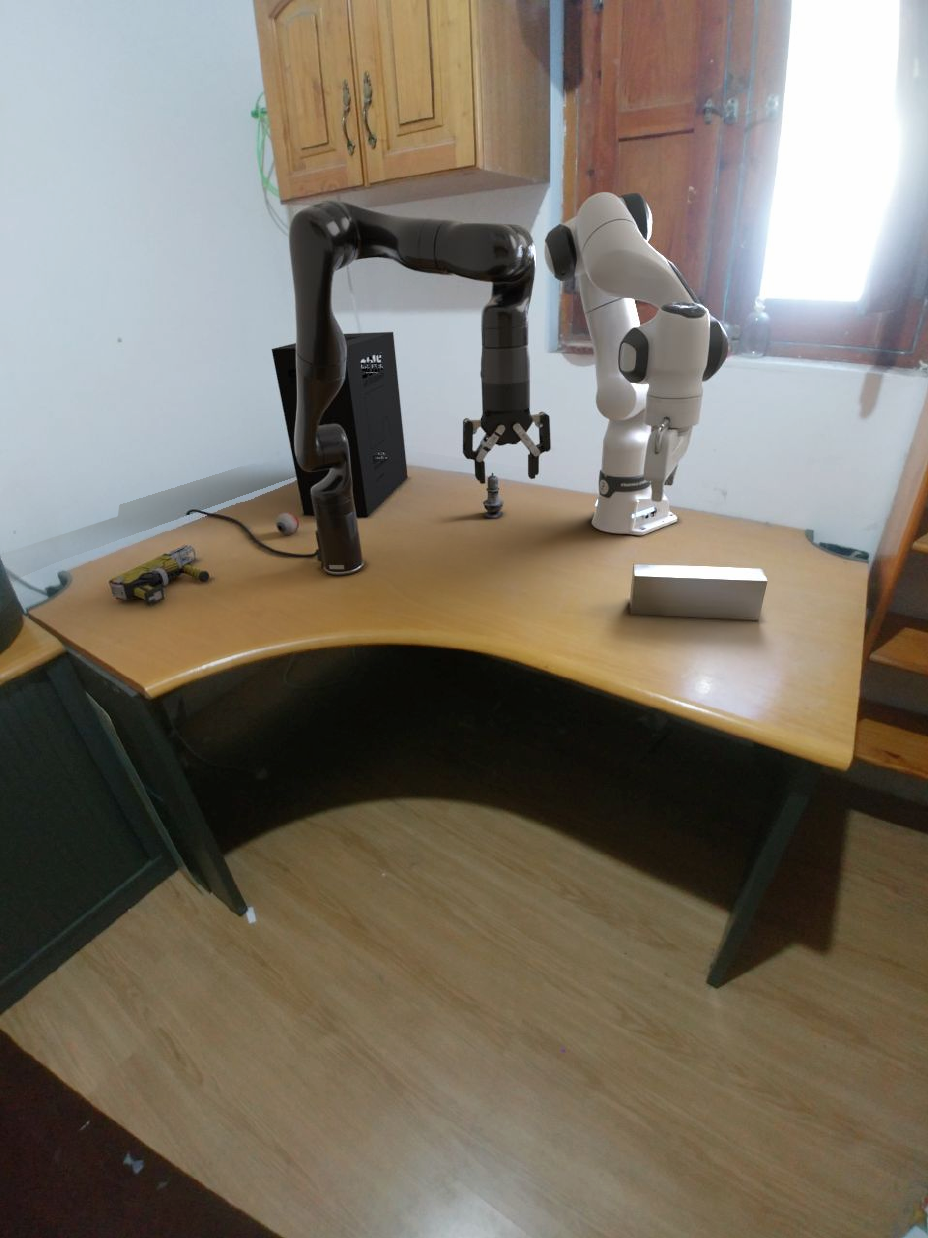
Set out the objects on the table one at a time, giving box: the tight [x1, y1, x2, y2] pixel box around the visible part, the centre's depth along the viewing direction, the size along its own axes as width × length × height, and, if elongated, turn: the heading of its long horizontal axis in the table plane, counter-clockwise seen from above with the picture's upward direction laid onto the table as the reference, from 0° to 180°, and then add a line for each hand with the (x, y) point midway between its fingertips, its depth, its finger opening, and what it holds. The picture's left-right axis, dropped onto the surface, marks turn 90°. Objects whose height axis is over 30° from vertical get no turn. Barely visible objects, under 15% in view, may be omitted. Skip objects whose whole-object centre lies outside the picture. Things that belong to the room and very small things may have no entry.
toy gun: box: [108, 544, 210, 607], centre depth 141 cm, size 5×24×15 cm
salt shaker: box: [482, 472, 505, 519], centre depth 167 cm, size 6×6×12 cm
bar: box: [629, 563, 768, 621], centre depth 116 cm, size 24×5×8 cm, turn 79°
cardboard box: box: [271, 331, 409, 518], centre depth 180 cm, size 38×20×45 cm, turn 167°
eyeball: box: [275, 511, 300, 536], centre depth 163 cm, size 6×6×6 cm
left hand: (507, 480), depth 101 cm, fingers open, 8 cm apart
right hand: (662, 492), depth 108 cm, fingers open, 8 cm apart
